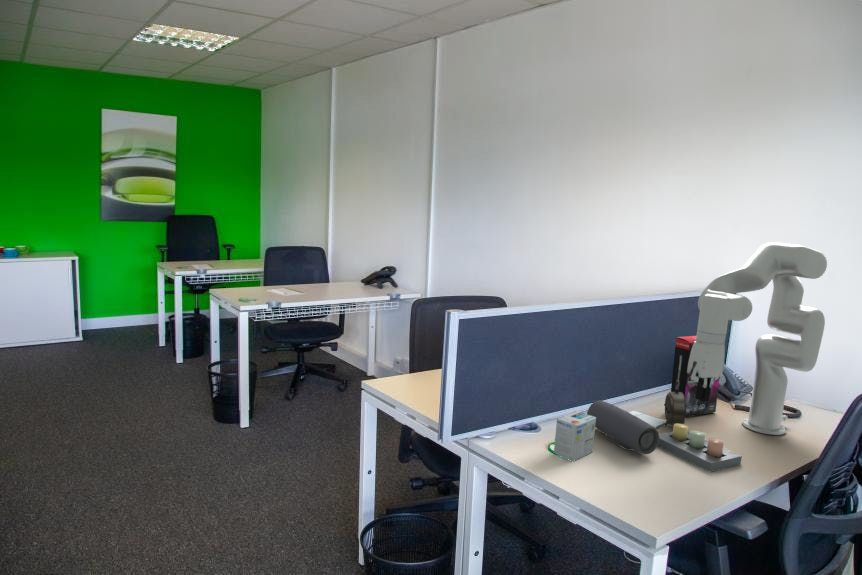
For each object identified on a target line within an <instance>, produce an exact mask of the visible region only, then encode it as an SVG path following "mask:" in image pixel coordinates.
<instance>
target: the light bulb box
mask: <svg viewBox="0 0 862 575" xmlns="http://www.w3.org/2000/svg"><path fill="white" fill-rule="evenodd" d="M595 423H596V417H594V416H591V415H588V414H587V413H585V412H581V411H578V410H575V411H573V412H571V413H569V414H567V415H564V416H561V417H559V418H556V424H555V435H554V447H553V448H554V449H553V454H554V453H556V454H558V455H560V456H562V457H564V458H566V459H565V460H567V459H569V460H571V461H570V462H572V461H573V462H575V461H577V460H579V459H581V458H584V457H585V456H588V455H589V454H591V453H593V448H594V441H595V440H594V438H595V431H596V430H595V429H596V428H595ZM560 456H559V457H560ZM562 457H561V458H562ZM564 458H563V459H564ZM578 458H579V459H578ZM576 459H577V460H576ZM569 460H568V461H569ZM574 460H575V461H574Z"/></svg>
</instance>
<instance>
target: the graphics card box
mask: <svg viewBox="0 0 862 575" xmlns="http://www.w3.org/2000/svg"><path fill="white" fill-rule="evenodd" d="M694 341H696V335H690V336H689V335H688V336H677V337H676V338H675V348H674V355H673V356H674V357H673V358H674V359H673V366H672V377H671V387H670V392H675V391H676V390H675V389H676V386H677V388H678V381H677V380H679V390H678V392H682V393H683V394H684V397H685V404H686V417H685V418H688V417H693V416H694V417H695V416H700V415H706V414H713V413H716V411H717V403H718V401H717V400H718V396H719V395H718V394H719V385H720V376H721V375H720V376H719V379H717V380H714V382H713V385H712V387H711V388H710V395H709V401H705V402H704V401H701V400H698V399H696V391H697V385H696V382H694V381H692V380H691V376H692V375H690V374H688V373H687V368H688V362H689V358H690V353H691V350H692V346H693V344H694ZM676 381H677V384H676Z"/></svg>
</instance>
